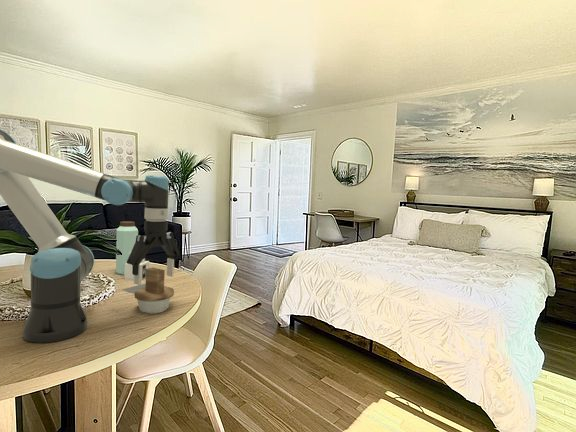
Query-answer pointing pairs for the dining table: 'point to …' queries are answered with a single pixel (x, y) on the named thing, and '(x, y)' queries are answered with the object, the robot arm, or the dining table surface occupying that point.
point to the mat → (135, 288)
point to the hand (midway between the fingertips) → (154, 279)
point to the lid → (154, 287)
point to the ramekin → (153, 306)
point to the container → (129, 270)
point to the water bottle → (125, 244)
